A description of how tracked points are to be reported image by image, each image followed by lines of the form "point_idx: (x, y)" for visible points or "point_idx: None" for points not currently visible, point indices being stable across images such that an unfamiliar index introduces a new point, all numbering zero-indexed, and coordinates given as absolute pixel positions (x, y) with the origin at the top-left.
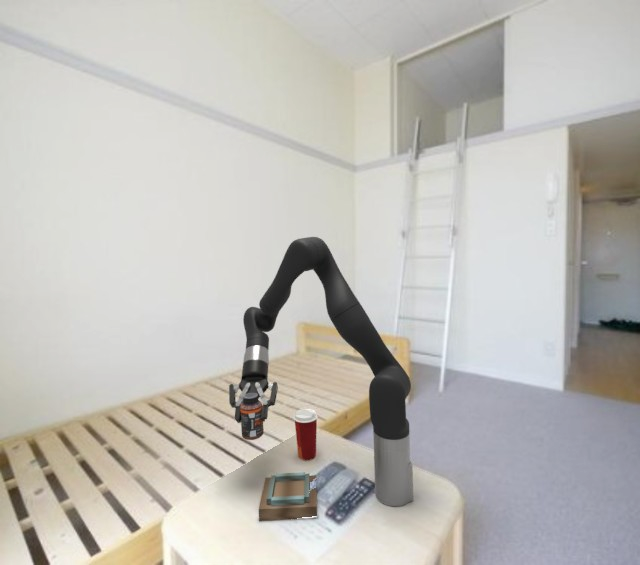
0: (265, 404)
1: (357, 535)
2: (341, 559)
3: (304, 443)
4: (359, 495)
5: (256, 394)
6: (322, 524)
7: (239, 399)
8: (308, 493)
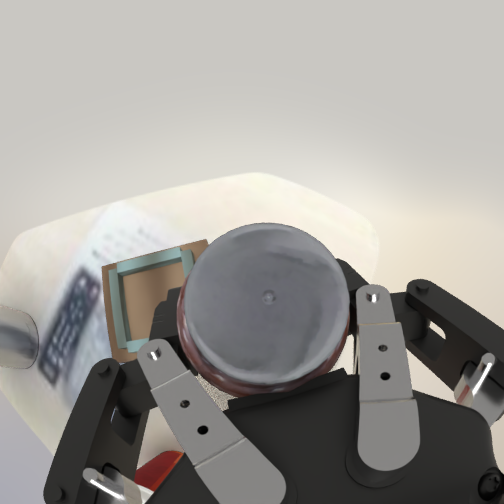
0: (151, 341)
1: (63, 251)
2: (84, 211)
3: (158, 463)
4: (56, 337)
5: (207, 334)
6: (104, 262)
7: (384, 318)
8: (110, 279)
